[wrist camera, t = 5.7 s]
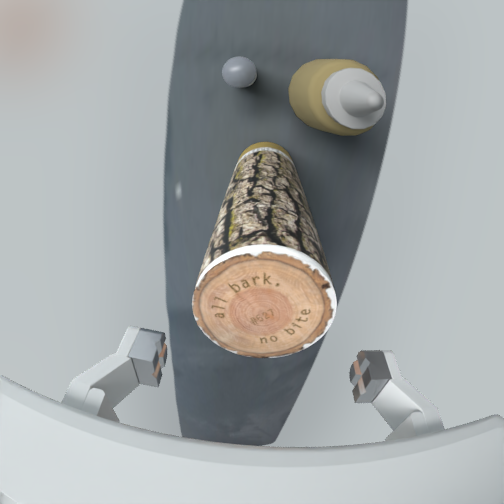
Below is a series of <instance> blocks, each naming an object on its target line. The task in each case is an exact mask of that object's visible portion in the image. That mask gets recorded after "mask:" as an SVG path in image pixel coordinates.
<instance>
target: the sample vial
mask: <svg viewBox="0 0 504 504" xmlns="http://www.w3.org/2000/svg"><path fill="white" fill-rule="evenodd" d="M222 75H223V78H224V80H225V81H226V83H228V84H229V85H230V86H233V87H238V88H241V87H248V86H250V85H252V84H253V83H254V82H255V80H256V77H257V73H256V67H255V65H254V64H253V62H252V61H251V60H249V59H248V58H245V57H234V58H231V59H230V60H228V61H227V62H226V63H225V64H224V66H223V69H222Z"/></svg>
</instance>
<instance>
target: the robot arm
mask: <svg viewBox="0 0 504 504" xmlns="http://www.w3.org/2000/svg"><path fill="white" fill-rule="evenodd" d="M165 339H166V337H165V333H163V332H159V331H154V330H149V329H144V328H139V327H135V326H129V327H128V329H127V330H126V333H125V335H124V337H123V339H122V341H121V343H120V346H119V348H118V350H117V352H116V354H111V355H110V356H108V357H107V358H105V359H103V360H102V361H100V362H99V363H97V364H96V365H94V366H93V367H91V368H90V369H88V370H86V371H85V372H83V373H82V374H80V375H79V376H77V377H75V378H74V379H73V380H72V381H71V383H70V386H69V387H68V390H67V392H66V394H65V396H64V398H63V400H62V402H61V403H60V402H58V401H55V400H53V399H50V398H48V397H46V396H43V395H41V394H39V393H37V392H34V391H32V390H30V389H28V388H26V387H24V386H22V385H20V384H18V383H16V382H14V381H12V380H10V379H8V378H6V377H4V376H2V375H0V504H504V418H502V417H501V416H500V415H491V416H489V417H486V418H483V419H479V420H477V421H473V422H470V423H467V424H463V425H460V426H456V427H453V428H449V429H444V426H443V423H442V420H441V417H440V414H439V411H438V408H437V407H436V406H435V405H434V404H433V403H432V402H430V401H429V400H428V399H427V398H426V397H425V396H424V395H423V394H422V393H421V392H420V391H418V390H417V389H416V388H415V387H414V386H413V385H412V384H411V383H410V382H408V381H407V380H406V379H403V378H402V375H401V373H400V370H399V367H398V364H397V361H396V359H395V356H394V353H393V352H392V351H380V350H374V351H360V352H359V353H358V355H357V359H358V360H356V361H355V362H353V364H352V366H351V368H350V382H351V383H352V384H353V385H354V386H355V387H354V389H353V396H354V401H355V403H372V405H373V406H374V407H375V408H376V409H377V410H378V412H379V413H380V414H381V416H382V417H383V418H384V420H385V421H386V422H387V423H388V424H389V426H390V427H391V428H392V429H393V432H392V433H391V434H390V435H389V436H388V437H387V438H386V439H385V441H383V442H375V443H366V444H357V445H345V446H329V447H265V446H250V445H238V444H227V443H219V442H211V441H203V440H197V439H190V438H185V437H179V436H174V435H168V434H163V433H159V432H154V431H149V430H146V429H141V428H137V427H133V426H130V425H126V424H122V423H119V419H118V417H117V415H116V413H115V412H114V410H113V408H114V407H115V406H116V405H117V404H118V403H119V402H121V401H122V400H123V399H124V398H125V397H126V396H127V395H129V394H130V393H131V392H132V391H133V390H134V389H135V388H136V387H138V386H139V384H143V385H149V386H154V387H159V384H160V380H161V377H162V372H161V369H162V368H163V367H164V366H165V363H166V359H167V345H166V344H165V343H164V342H165Z"/></svg>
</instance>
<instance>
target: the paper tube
mask: <svg viewBox="0 0 504 504" xmlns="http://www.w3.org/2000/svg"><path fill="white" fill-rule="evenodd" d="M192 306H193V313H194V317H195V320H196V322H197V324H198V325H199V327H200V329H201V330H202V331H203V332H204V334H205V335H206V336H207V337H208V338H209V339H211V340H212V341H213V342H214V343H216V344H217V345H219V346H220V347H222V348H224V349H226V350H228V351H231V352H233V353H236V354H239V355H243V356H248V357H255V358H274V357H281V356H286V355H290V354H293V353H296V352H299V351H301V350H303V349H305V348H307V347H309V346H311V345H312V344H314V343H315V342H316V341H318V340H319V339H320V338H321V337H322V336H323V335H324V334H325V333H326V332H327V330H328V329H329V327H330V326H331V324H332V322H333V320H334V317H335V313H336V307H337V302H336V295H335V289H334V285H333V282H332V278H331V275H330V271H329V268H328V265H327V261H326V258H325V255H324V252H323V248H322V245H321V242H320V239H319V236H318V233H317V229H316V226H315V223H314V220H313V217H312V214H311V211H310V208H309V205H308V202H307V199H306V197H305V194H304V191H303V188H302V185H301V182H300V180H299V177H298V174H297V171H296V168H295V166H294V164H293V161H292V159H291V157H290V155H289V153H288V152H287V151H286V150H285V149H284V148H282V147H281V146H279V145H277V144H275V143H271V142H260V143H256V144H253V145H251V146H249V147H248V148H247V149H246V150H244V152H243V153H242V154H241V156H240V158H239V160H238V163H237V165H236V167H235V170H234V173H233V176H232V178H231V181H230V184H229V187H228V190H227V192H226V195H225V198H224V201H223V204H222V207H221V210H220V213H219V215H218V218H217V221H216V224H215V227H214V230H213V233H212V236H211V239H210V242H209V245H208V248H207V251H206V254H205V257H204V260H203V263H202V267H201V270H200V273H199V276H198V279H197V282H196V286H195V290H194V295H193V301H192Z"/></svg>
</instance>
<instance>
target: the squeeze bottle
mask: <svg viewBox="0 0 504 504" xmlns="http://www.w3.org/2000/svg"><path fill="white" fill-rule="evenodd" d="M288 90H289V100H290V105H291V106H292V108H293V110H294V112H295V114H296V116H297V117H298V118H299V119H301V120H302V121H303V122H304V123H305V124H306V125H308V126H310V127H313V128H315V129H318V130H321V131H325V132H329V133H333V134H337V135H341V136H343V135H359V134H361V133H363V132H366V131H368V130H370V129H371V128H372V127H373V126H374V125H375V124H376V123H377V122H378V121H379V119H380V118H381V117H382V116H383V113H384V110H385V108H386V94H385V91H384V89H383V87H382V84H381V82H380V81H379V79H378V77H377V76H376V75H375V74H374V73H373V72H372V71H371V70H370V69H369V68H368V67H367V66H365V65H363V64H360V63H358V62H356V61H354V60H346V59H316V60H314V61H311V62H309V63H306V64H304V65H302V66H301V67H300V68H299V69H298V71H297V72H296V73H295V74H294V75H293V77H292V80H291V83H290V86H289V89H288Z"/></svg>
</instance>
